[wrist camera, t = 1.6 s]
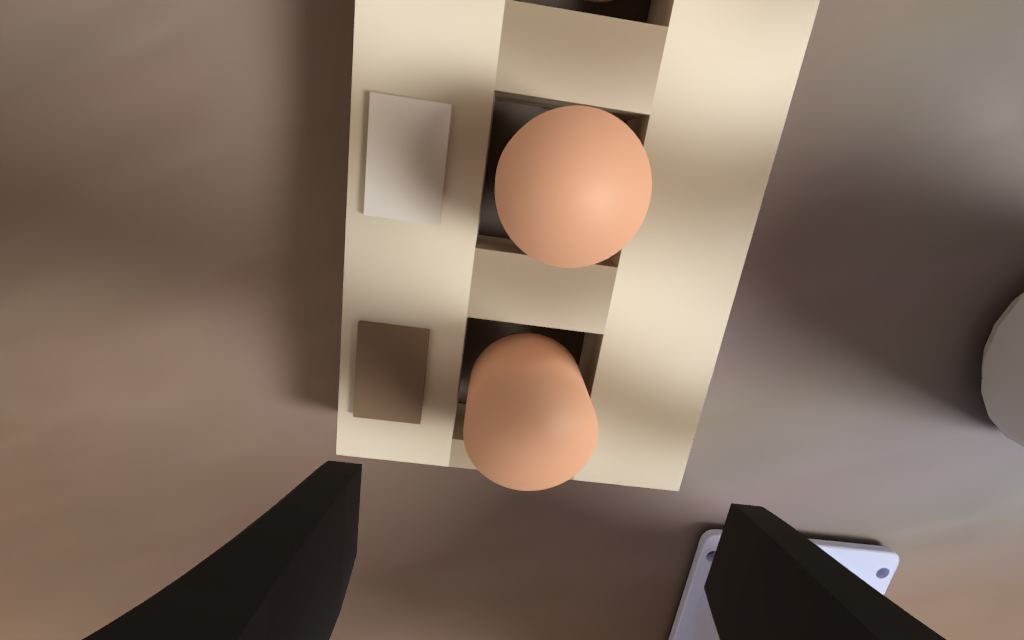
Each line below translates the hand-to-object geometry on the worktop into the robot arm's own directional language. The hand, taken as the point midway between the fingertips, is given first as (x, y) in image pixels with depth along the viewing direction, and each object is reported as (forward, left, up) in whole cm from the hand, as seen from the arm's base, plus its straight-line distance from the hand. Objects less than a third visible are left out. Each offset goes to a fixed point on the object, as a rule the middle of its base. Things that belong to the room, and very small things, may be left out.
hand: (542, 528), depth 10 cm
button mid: (+6, 0, -6) cm, 9 cm away
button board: (+6, 0, -8) cm, 10 cm away
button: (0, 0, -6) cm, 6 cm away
